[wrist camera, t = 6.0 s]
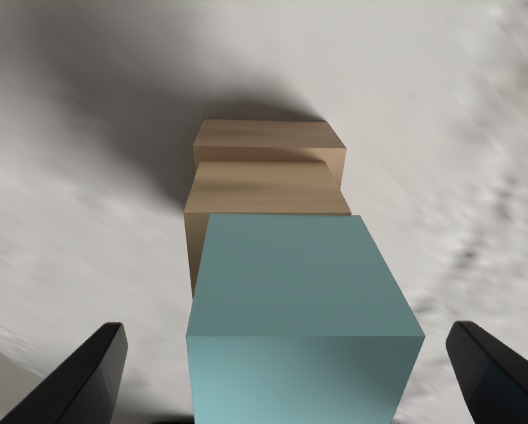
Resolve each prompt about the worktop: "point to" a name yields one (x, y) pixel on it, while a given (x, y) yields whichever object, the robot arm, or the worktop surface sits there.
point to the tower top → (256, 196)
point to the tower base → (269, 143)
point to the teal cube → (297, 323)
